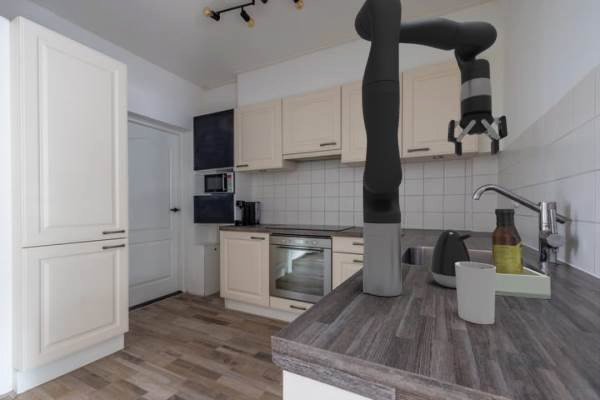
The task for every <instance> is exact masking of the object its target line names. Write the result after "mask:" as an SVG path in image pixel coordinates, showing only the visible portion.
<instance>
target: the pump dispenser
mask: <svg viewBox="0 0 600 400" xmlns="http://www.w3.org/2000/svg"><path fill="white" fill-rule="evenodd" d="M470 238H472V235H471V234H470V233H466V234H462V235H461V233H460V232H458V231H457V230H455V229H451V228H450V229H444V230H443V231H442V232H440V234H439V235H438V237H437V238H436V241H435V243H434V246H433V249H432V253H431V256H430V257H431V259H430V263H429V265H430V266H429V267H430V268H429V270H430V272H431V275H432V278H433V279H434V280H435V282H436V283H437V284H439V285H441V286H443V287H446V288H453V289H457V285H456V271H455V263H457V262H473V261H472V258H471V257H472V256H471V253H470V250H469V248H468V245H467V242H466V241H465V240H467V239H470Z"/></svg>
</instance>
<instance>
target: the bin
mask: <svg viewBox="0 0 600 400" xmlns="http://www.w3.org/2000/svg"><path fill="white" fill-rule="evenodd" d="M551 295H552V294H551V277H550V276H547V275H545V274H543V273H540V272H538V271H535V270H532V269H530V268H528V267H525V266H523V275H516V274H500V273H496V283H495V296H502V297H504V296H505V297H506V296H507V297H518V298H528V299H529V298H530V299H531V298H533V299H540V300H541V299H542V300H551V298H552V297H551Z"/></svg>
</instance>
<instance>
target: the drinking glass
mask: <svg viewBox="0 0 600 400" xmlns="http://www.w3.org/2000/svg"><path fill="white" fill-rule="evenodd" d="M455 271H456V285H457V288H456V298H457V311H458V315H457V316H458V317H459V318H461V319H462V320H464V321H467V322H469V323H472V324H473V323H474V324H477V325H492V324H494V323H495V312H496V311H495V307H496V295H495V283H496V267H495V266H493V264H489V263H481V262H476V261H472V262H457V263H455Z"/></svg>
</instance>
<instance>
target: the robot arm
mask: <svg viewBox="0 0 600 400" xmlns="http://www.w3.org/2000/svg"><path fill="white" fill-rule="evenodd" d="M402 11H403V10H402V2H401V0H365V1H364V2H363V4H362V6H361V8H360V9H359V10H358V12H357V15H356V17H355V20H354V28H355V29H354V30H355V32H356V34H358V35H357V36H359V37H360V38H361V39H363V40H364V41H368V42H370V47H369V48H370V49H369V53H368V57H367V60H366V63H365V67H364V72H363V77H362V82H361V108H362V109H361V110H362V118H363V124H364V129H365V133H366V149H365V150H366V153H365V164H364V170H363V176H362V216H363V217H362V218H363V219H362V221H363V224H362V225H363V228H362V229H363V232H362V233H363V240H362V241H363V245H362V246H363V254H362V292H363V293H366V294H370V295H373V296H379V297H397V296H400V295H401V294H403V293H402V292H403V280H402V279H403V274H402V273H403V267H402V264H403V263H402V261H403V259H402V258H403V257H402V255H403V254H402V253H403V252H402V250H403V249H402V247H403V246H402V211H401V207H400V186H401V184H402V180H403V169H402V162H401V156H400V155H401V154H400V145H399V126H400V113H401V112H400V108H401V107H400V106H401V104H400V103H401V93H400V92H401V89H400V88H401V87H400V86H401V85H400V84H401V83H400V44H406V45H407V44H409V45H419V46H424V47H429V48H433V49H437V50H441V51H445V52H449V51H453V55H454V58H455V61H456V62H457V67H458V69H459V71H460V92H459V93H460V96H459V103H460V104H459V106H460V120H455V119H451V120H450V121H449V122H448V123H447V142H448V143H453V145H454V154H455V155H457V156H456V157H462V156H463V142H462V140H463V139H464V138H465V136H466V135H468V136H474V135H483V134H484V135H485V136H486V137H487V138H489V139H490V140H491V142H490V155H492V156H495V155H497V154H498V152H499V151H500V140H503V139H504V138H506V137H507V136H508V133H509V132H508V125H507V124H508V123H507V116H506V115H502V116H499V117H494V116H493V106H492V105H493V104H492V103H493V102H492V101H493V100H492V98H493V97H492V82H491V69H490V68H491V65H490V62H489V60H488V59H486V58H477V56H479V55H480V54H482V53H483V52H485V51H487V50H488V49H490V48H491V47H492V46H493V45H494V44H495V43H496V41H497V38H498V31H497V29H496V27H495V25H493V24H492V23H489V22H486V21H481V20H478V21H477V20H476V21H461V22H459V21H455V20H452V19H448V18H445V17H438V16H431V17H422V18H417V19H407V20H406V19H405V20H403V19H402ZM493 123H494V124H495V126H497V132H498V133H497V132H496V130H495V128H493V127H492V124H493ZM458 126H459V127H460V128H461V129H462V131H461V132H460V134H459V135H458V136H457V137H455V131H456V130H455V129H456V128H457V127H458Z"/></svg>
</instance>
